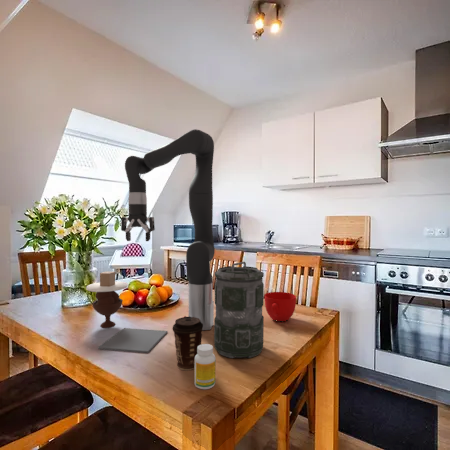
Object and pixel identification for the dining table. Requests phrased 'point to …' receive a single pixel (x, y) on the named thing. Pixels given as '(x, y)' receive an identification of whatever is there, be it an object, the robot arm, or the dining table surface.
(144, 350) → the mat
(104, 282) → the lid
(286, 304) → the ceramic cup
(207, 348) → the supplement bottle
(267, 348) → the dining table surface
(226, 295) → the canister
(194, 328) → the coffee cup
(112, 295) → the ice cream bowl
